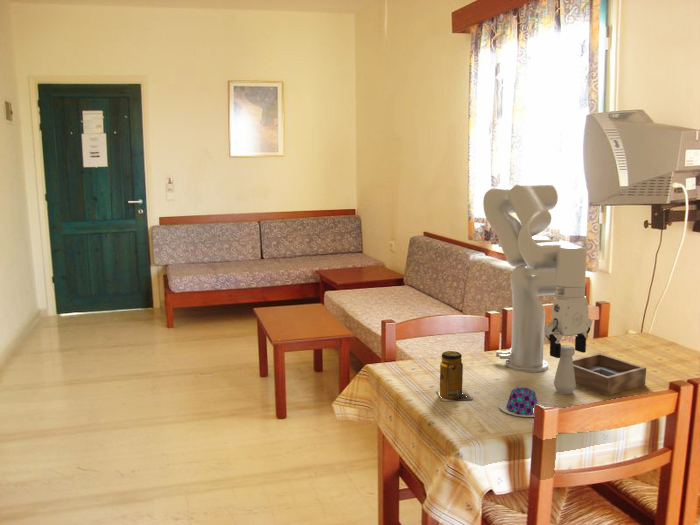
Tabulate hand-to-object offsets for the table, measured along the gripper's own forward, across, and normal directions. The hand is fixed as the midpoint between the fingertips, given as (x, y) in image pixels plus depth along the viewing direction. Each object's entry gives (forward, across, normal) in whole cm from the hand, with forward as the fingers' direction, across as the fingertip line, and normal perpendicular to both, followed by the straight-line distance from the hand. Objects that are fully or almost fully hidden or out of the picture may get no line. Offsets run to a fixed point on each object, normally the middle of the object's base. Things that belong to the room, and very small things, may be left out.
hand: (567, 354), depth 181 cm
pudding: (+12, -18, -2) cm, 22 cm away
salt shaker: (+11, 0, +1) cm, 11 cm away
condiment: (+11, -27, +14) cm, 33 cm away
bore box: (+11, +16, +1) cm, 19 cm away
